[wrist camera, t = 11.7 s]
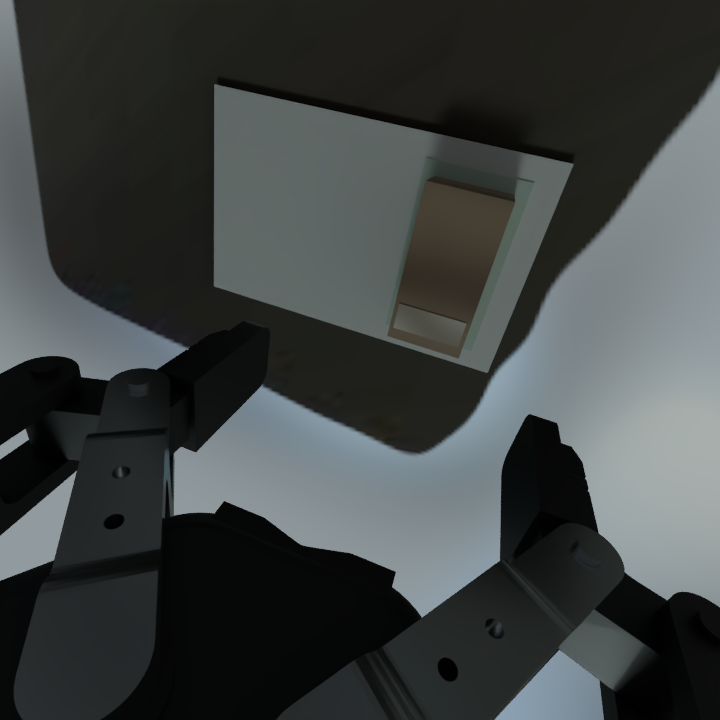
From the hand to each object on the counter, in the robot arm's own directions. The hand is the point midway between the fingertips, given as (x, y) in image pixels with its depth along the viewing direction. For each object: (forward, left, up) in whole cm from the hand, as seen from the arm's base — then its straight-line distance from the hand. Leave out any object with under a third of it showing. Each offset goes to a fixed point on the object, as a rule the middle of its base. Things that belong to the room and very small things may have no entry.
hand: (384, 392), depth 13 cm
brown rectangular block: (0, 0, -15) cm, 15 cm away
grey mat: (-6, 0, -16) cm, 17 cm away
